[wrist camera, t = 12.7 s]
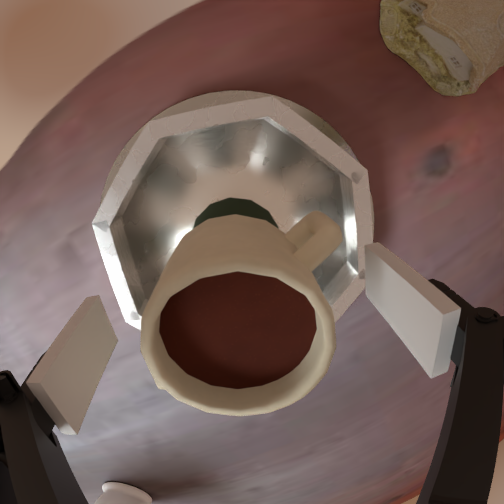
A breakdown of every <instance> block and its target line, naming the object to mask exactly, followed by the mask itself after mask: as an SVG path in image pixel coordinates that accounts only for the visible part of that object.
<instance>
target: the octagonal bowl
mask: <svg viewBox="0 0 504 504" xmlns="http://www.w3.org/2000/svg"><path fill="white" fill-rule="evenodd" d="M229 197H231V198H240V199H248V200H252V201H254V202H255V203H257V204H258V205H260V206H262V207H263V208H265V209H266V210H268V211H269V212H270V214H271V216H272V217H273V219H274V221H275V222H276V224H277V225H278V227H279V229H280V230H281V231H283V232H284V233H285V234H286V233H287V232H288V231H289V230H290V229H291V228H292V227H293V226H294V225H296V224H297V223H298V222H299V221H300V220H301V219H302V218H303V217H304V216H306V215H307V214H309V213H310V212H312V211H320V212H322V213H325V214H326V215H327V216H328V217H330V218H331V219H332V220H333V221H334V222H335V223H337V224H338V225H339V226H340V229H341V233H342V238H343V241H342V242H341V244H340V245H339V246H338V247H337V249H336V250H335V251H334V252H332V253H331V254H330V255H329V256H328V257H327V258H326V259H325V260H324V261H323V262H321V263H320V264H319V265H318V266H317V267H316V268H315V269H314V270H313V271H312V273H313V275H314V277H315V279H316V281H317V283H318V285H319V287H320V289H321V291H322V293H323V295H324V296H325V298H326V300H327V301H328V303H329V305H330V306H331V308H332V311H333V315H334V322H336V321H337V320H338V319H339V318H340V317H341V316H342V314H343V313H344V312H345V311H346V310H347V309H348V307H349V306H350V305H351V304H352V303H353V302H354V300H355V299H356V298H357V297H358V296H359V294H360V293H361V292H362V291H363V289H364V288H365V287H366V277H365V250H364V245H367V244H372V243H373V237H374V209H373V202H372V196H371V192H370V188H369V179H368V171H367V169H365V168H364V167H363V166H362V165H361V164H360V163H359V161H358V159H357V158H356V156H355V154H354V153H353V151H352V150H351V148H350V147H349V145H348V144H347V143H346V142H345V141H344V139H343V138H342V137H341V136H340V135H339V133H338V132H337V131H336V130H334V129H333V128H332V127H331V126H330V125H329V124H328V123H327V122H326V121H324V120H323V119H322V118H320V117H319V116H317V115H316V114H314V113H313V112H311V111H310V110H308V109H307V108H305V107H303V106H301V105H298V104H296V103H294V102H292V101H290V100H287V99H284V98H281V97H278V96H275V95H271V94H267V93H261V92H254V91H232V90H229V91H221V92H213V93H207V94H204V95H200V96H196V97H193V98H189V99H187V100H185V101H182V102H180V103H178V104H176V105H173V106H171V107H169V108H168V109H166V110H164V111H163V112H161V113H160V114H158V115H157V116H155V117H153V118H152V119H151V120H150V121H149V122H147V123H146V124H145V125H144V126H143V127H142V128H140V129H139V130H138V131H137V132H136V133H135V135H134V136H133V137H132V138H131V139H130V140H129V141H128V143H127V144H126V145H125V146H124V148H123V149H122V151H121V152H120V154H119V156H118V157H117V159H116V160H115V162H114V164H113V166H112V168H111V171H110V173H109V175H108V177H107V180H106V183H105V186H104V190H103V193H102V197H101V203H100V208H99V210H98V212H97V214H96V216H95V218H94V221H93V223H92V225H93V229H94V232H95V236H96V239H97V242H98V245H99V249H100V252H101V255H102V258H103V261H104V264H105V267H106V270H107V273H108V276H109V278H110V281H111V284H112V287H113V290H114V292H115V295H116V298H117V300H118V303H119V306H120V308H121V311H122V313H123V316H124V318H125V321H126V322H127V323H129V324H131V325H132V326H134V327H136V328H137V329H139V330H141V318H142V315H143V312H144V309H145V307H146V305H147V303H148V301H149V299H150V297H151V295H152V293H153V290H154V288H155V286H156V284H157V282H158V280H159V278H160V276H161V274H162V272H163V270H164V268H165V266H166V264H167V262H168V260H169V258H170V257H171V255H172V253H173V252H174V250H175V248H176V247H177V245H178V243H179V242H180V240H181V239H182V237H183V236H184V235H185V234H186V233H187V232H189V231H190V230H192V229H193V226H194V223H195V220H196V218H197V217H198V216H199V215H200V214H201V213H202V212H203V211H204V210H205V209H206V208H207V207H208V206H209V205H210V204H212V203H215V202H218V201H220V200H223V199H226V198H229Z"/></svg>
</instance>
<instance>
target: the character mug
mask: <svg viewBox="0 0 504 504" xmlns="http://www.w3.org/2000/svg"><path fill="white" fill-rule="evenodd" d="M342 241H343V238H342V233H341V229H340V226H339V225H338V224H337V223H335V222H334V221H333V220H332V219H331V218H330V217H328V216H327V215H326V214H325V213H322V212H320V211H312V212H310V213H309V214H307V215H306V216H304V217H303V218H302V219H301V220H300V221H299V222H298V223H297V224H296V225H294V226H293V227H292V228H291V229H290V230H289V231H288V232H287V233H286V234H285V233H284V232H283V231H281V230H280V229H279V227H278V225H277V224H276V222H275V221H274V219H273V217H272V216H271V214H270V212H269V211H268V210H266V209H265V208H263V207H262V206H260V205H258V204H257V203H255V202H254V201H252V200H248V199H240V198H231V197H229V198H226V199H223V200H220V201H218V202H215V203H212V204H210V205H209V206H208V207H207V208H206V209H205V210H204V211H203V212H202V213H201V214H200V215H199V216H198V217H197V218H196V220H195V223H194V226H193V229H192V230H190V231H189V232H187V233H186V234H185V235H184V236H183V237H182V239H181V240H180V242H179V243H178V245H177V247H176V248H175V250H174V252H173V253H172V255H171V257H170V258H169V260H168V262H167V264H166V266H165V268H164V270H163V272H162V274H161V276H160V278H159V280H158V282H157V284H156V286H155V288H154V290H153V293H152V295H151V297H150V299H149V301H148V303H147V305H146V307H145V309H144V312H143V315H142V318H141V353H142V355H143V357H144V359H145V362H146V364H147V366H148V368H149V370H150V372H151V374H152V376H153V378H154V379H155V383H156V385H157V387H158V388H159V389H164V390H166V391H168V392H169V393H170V394H171V395H172V396H173V397H174V398H175V399H177V400H179V401H181V402H183V403H186V404H188V405H190V406H193V407H195V408H197V409H200V410H202V411H205V412H208V413H215V414H223V415H231V416H247V415H256V414H264V413H270V412H273V411H275V410H278V409H281V408H284V407H286V406H289V405H291V404H293V403H294V402H296V401H298V400H300V399H302V398H303V397H304V396H306V395H307V394H308V393H309V392H310V391H312V390H313V389H314V388H315V387H316V385H317V384H318V383H319V382H320V381H321V379H322V378H323V377H324V376H325V374H326V373H327V371H328V368H329V366H330V363H331V360H332V358H333V355H334V352H335V349H336V336H335V322H334V315H333V311H332V308H331V306H330V305H329V303H328V301H327V300H326V298H325V296H324V295H323V293H322V291H321V289H320V287H319V285H318V283H317V281H316V279H315V277H314V275H313V273H312V271H313V270H314V269H315V268H316V267H317V266H318V265H319V264H320V263H321V262H323V261H324V260H325V259H326V258H327V257H328V256H329V255H330V254H331V253H332V252H334V251H335V250H336V249H337V247H338V246H339V245H340V244H341V242H342Z"/></svg>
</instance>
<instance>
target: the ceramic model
mask: <svg viewBox="0 0 504 504" xmlns="http://www.w3.org/2000/svg"><path fill="white" fill-rule="evenodd" d="M380 6H381V10H380V16H381V17H380V20H379V21H380V25H379V26H380V33H381V35H382V37H383V40H384V42H385V44H386V46H387V48H388V49H389V50H390V51H391V52H392V53H395V54H396V55H398V56H400V57H401V58H403V59H404V60H405V61H407V63H408V64H410V65H411V66H412V67H413V68H414V69H415V70H416V71H417V72H418V73H419V74H420V75H421V76H422V77H423V79H424V80H425V81H426V82H427V83H428V84H429V85H430V86H431V87H432V88H433V90H435V91H436V92H439V93H440V94H442V95H446V96H461V95H465V94H472V93H475V92H476V91H477V89H478V88H479V87H480V85H481V84H482V83H483V82H484V81H485V80H486V79H487V78H488V77H489V76H490V75H491V74H493V73H494V72H496V71H497V70H498V69H499V68H500V67H502V66H504V0H382V1H381V3H380Z"/></svg>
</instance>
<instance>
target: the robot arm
mask: <svg viewBox="0 0 504 504" xmlns="http://www.w3.org/2000/svg"><path fill="white" fill-rule="evenodd" d="M364 250H365V277H366V296H367V297H368V299H369V300H370V301H371V302H372V304H373V305H374V306H375V307H376V309H377V310H378V311H379V312H380V313H381V315H382V316H383V317H384V318H385V320H386V321H387V322H388V323H389V325H390V326H391V327H392V329H393V330H394V331H395V332H396V334H397V335H398V336H399V337H400V339H401V340H402V341H403V343H404V344H405V345H406V346H407V348H408V349H409V350H410V352H411V353H412V354H413V356H414V357H415V358H416V360H417V361H418V362H419V363H420V365H421V366H422V367H423V369H424V370H425V371H426V373H427V374H428V376H429V377H430V378H433V377H436V376H438V375H441V374H443V373H445V372H447V371H448V368H449V364H450V360H452V361H453V362H454V363H455V364H456V368H455V372H454V375H453V378H452V382H451V385H450V387H451V392H450V397H449V401H448V406H447V410H446V414H445V418H444V422H443V426H442V430H441V433H440V437H439V440H438V444H437V447H436V450H435V454H434V457H433V460H432V463H431V466H430V469H429V472H428V474H427V477H426V480H425V483H424V485H423V488H422V490H421V493H420V495H419V498H418V500H417V503H416V504H487V500H488V496H489V492H490V488H491V483H492V479H493V473H494V468H495V462H496V456H497V451H498V444H499V436H500V427H501V416H502V402H503V384H504V316H500V315H499V314H498V313H497V312H496V311H494V310H492V309H490V308H486V307H478V308H474V307H472V306H471V305H470V304H469V303H468V302H466V301H465V300H464V299H463V298H461V297H460V296H459V295H458V294H457V295H456V293H455V292H454V291H453V290H450V288H449V287H448V286H446V285H445V284H444V283H442V282H440V281H437V280H434V279H430V280H427V279H425V278H424V277H423V276H422V275H420V274H419V273H418V272H417V271H415V270H414V269H413V268H412V267H410V266H409V265H408V264H406V263H405V262H404V261H403V260H401V259H400V258H399V257H397V256H396V255H395V254H393V253H392V252H391V251H390V250H388V249H387V248H386V247H384V246H383V245H382V244H380V243H379V242H377V243H372V244H367V245H364ZM117 342H118V339H117V337H116V335H115V333H114V330H113V328H112V326H111V323H110V321H109V319H108V316H107V314H106V311H105V309H104V306H103V304H102V301H101V299H100V296H99V295H98V296H92V297H87V298H86V299H85V300H84V302H83V303H82V304H81V305H80V307H79V308H78V309H77V311H76V312H75V313H74V315H73V316H72V317H71V319H70V320H69V321H68V323H67V324H66V325H65V327H64V328H63V329H62V331H61V332H60V333H59V335H58V336H57V338H56V339H55V340H54V342H53V343H52V345H51V346H50V347H49V349H48V350H47V351H46V352H45V353H44V354H43V355H42V356H41V357H40V359H39V360H38V362H37V364H36V365H35V366H34V367H33V370H31V372H30V373H29V375H28V376H27V378H26V379H25V381H24V382H23V384H22V386H21V387H20V386H19V384H18V383H17V381H16V379H15V378H14V376H13V375H12V373H11V371H8V370H6V371H1V372H0V504H88V502H87V500H86V498H85V496H84V494H83V493H82V491H81V489H80V487H79V485H78V483H77V481H76V479H75V477H74V475H73V473H72V471H71V468H70V466H69V464H68V462H67V460H66V457H65V455H64V453H63V451H62V448H61V446H60V443H59V441H58V438H57V436H56V435H55V433H54V432H53V431H52V429H53V427H54V425H56V426H57V427H58V429H59V430H60V431H61V432H62V434H70V435H78V432H79V430H80V427H81V424H82V422H83V419H84V417H85V414H86V412H87V410H88V407H89V405H90V402H91V400H92V398H93V395H94V393H95V390H96V388H97V386H98V384H99V381H100V379H101V377H102V374H103V372H104V370H105V368H106V365H107V363H108V361H109V359H110V357H111V354H112V352H113V350H114V348H115V346H116V344H117Z"/></svg>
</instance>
